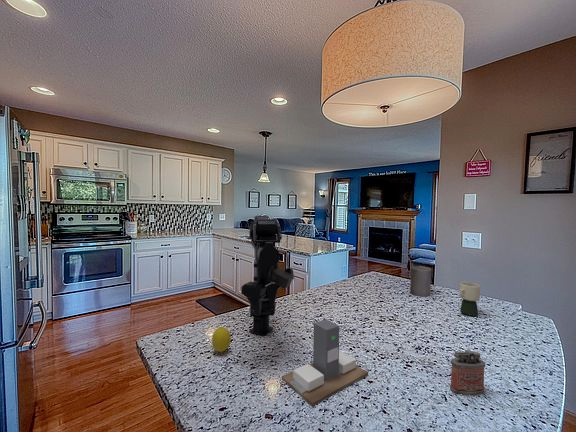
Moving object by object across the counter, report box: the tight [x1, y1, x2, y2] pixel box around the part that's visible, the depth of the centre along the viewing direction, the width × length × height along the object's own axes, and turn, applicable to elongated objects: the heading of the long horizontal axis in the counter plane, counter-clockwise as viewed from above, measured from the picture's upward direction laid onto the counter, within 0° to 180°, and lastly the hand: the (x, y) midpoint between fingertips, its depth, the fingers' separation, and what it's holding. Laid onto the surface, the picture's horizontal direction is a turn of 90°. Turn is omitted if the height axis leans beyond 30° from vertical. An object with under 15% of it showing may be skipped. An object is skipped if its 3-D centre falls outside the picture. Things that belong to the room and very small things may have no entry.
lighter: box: [449, 349, 486, 396], centre depth 68 cm, size 8×3×10 cm, turn 92°
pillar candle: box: [409, 265, 432, 298], centre depth 144 cm, size 10×10×15 cm
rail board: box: [281, 362, 369, 407], centre depth 73 cm, size 12×20×1 cm, turn 126°
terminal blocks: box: [292, 349, 357, 392], centre depth 73 cm, size 6×17×2 cm, turn 126°
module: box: [312, 319, 340, 381], centre depth 73 cm, size 5×4×13 cm
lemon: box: [211, 326, 232, 353], centre depth 85 cm, size 6×6×8 cm
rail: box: [290, 363, 359, 394], centre depth 73 cm, size 5×20×1 cm, turn 126°
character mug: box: [458, 281, 481, 317], centre depth 117 cm, size 11×7×13 cm, turn 107°
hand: (265, 310), depth 85 cm, fingers open, 9 cm apart
